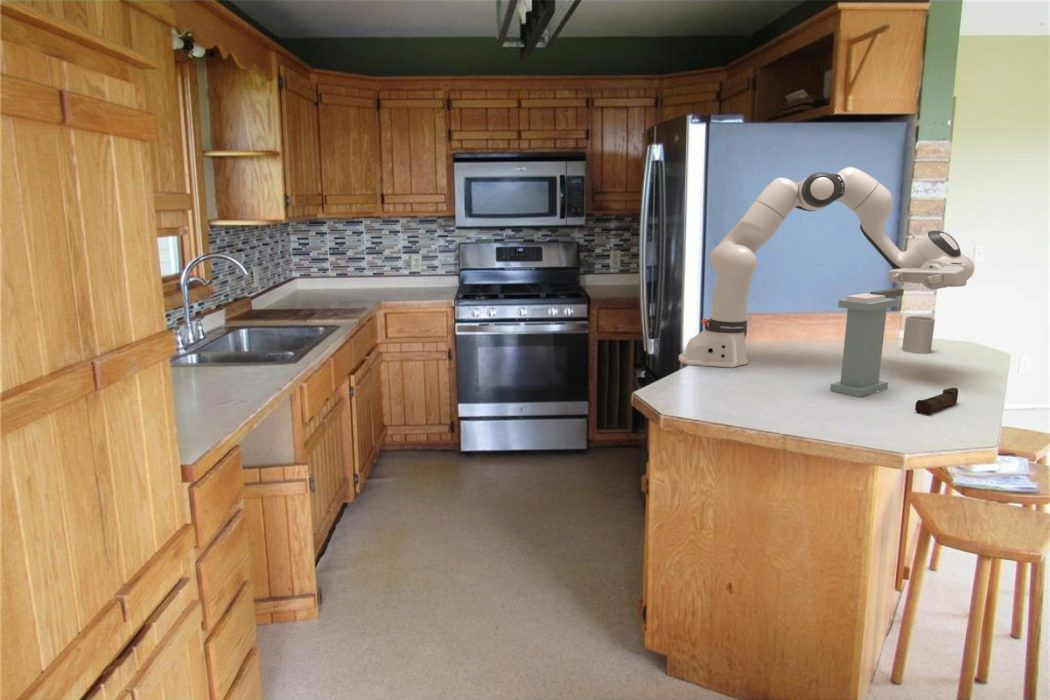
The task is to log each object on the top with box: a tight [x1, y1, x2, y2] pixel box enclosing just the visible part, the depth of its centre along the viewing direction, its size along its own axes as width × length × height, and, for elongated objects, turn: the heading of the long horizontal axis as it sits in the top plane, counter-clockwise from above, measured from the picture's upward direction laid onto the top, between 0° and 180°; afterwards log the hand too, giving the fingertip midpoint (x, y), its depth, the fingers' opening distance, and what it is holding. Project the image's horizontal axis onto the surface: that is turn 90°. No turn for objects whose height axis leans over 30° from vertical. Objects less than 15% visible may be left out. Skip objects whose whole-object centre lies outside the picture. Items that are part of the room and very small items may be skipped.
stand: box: [829, 298, 898, 398], centre depth 206 cm, size 15×9×26 cm, turn 128°
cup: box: [901, 315, 936, 355], centre depth 260 cm, size 9×9×12 cm
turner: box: [845, 287, 904, 303], centre depth 206 cm, size 24×6×2 cm, turn 128°
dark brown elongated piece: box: [914, 387, 959, 416], centre depth 190 cm, size 19×4×5 cm, turn 124°
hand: (911, 279), depth 210 cm, fingers open, 8 cm apart
